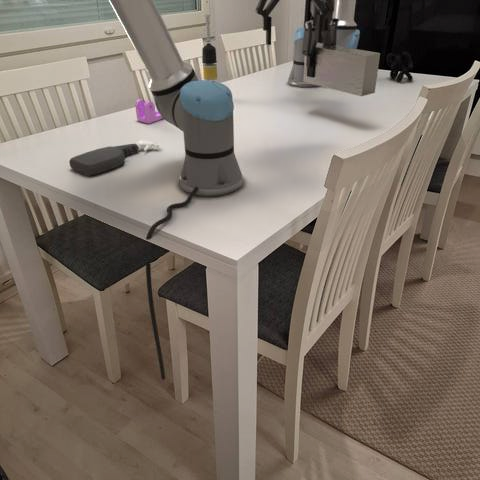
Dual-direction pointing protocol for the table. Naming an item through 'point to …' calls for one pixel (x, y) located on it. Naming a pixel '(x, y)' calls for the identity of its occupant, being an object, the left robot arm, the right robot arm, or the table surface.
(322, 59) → the box
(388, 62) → the squiggle
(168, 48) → the left robot arm
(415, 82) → the table surface
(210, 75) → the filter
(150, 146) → the spray bottle
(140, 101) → the bracket
